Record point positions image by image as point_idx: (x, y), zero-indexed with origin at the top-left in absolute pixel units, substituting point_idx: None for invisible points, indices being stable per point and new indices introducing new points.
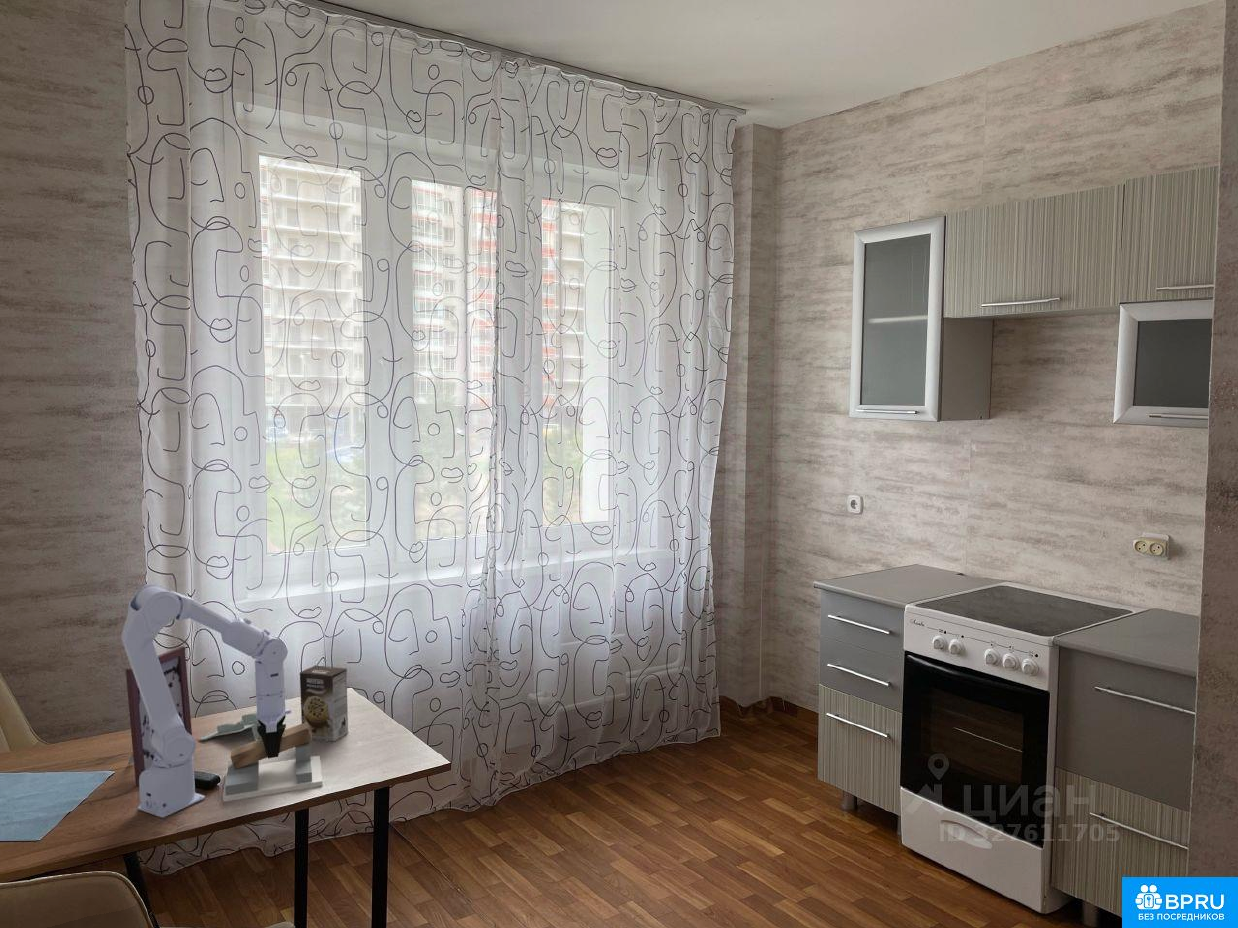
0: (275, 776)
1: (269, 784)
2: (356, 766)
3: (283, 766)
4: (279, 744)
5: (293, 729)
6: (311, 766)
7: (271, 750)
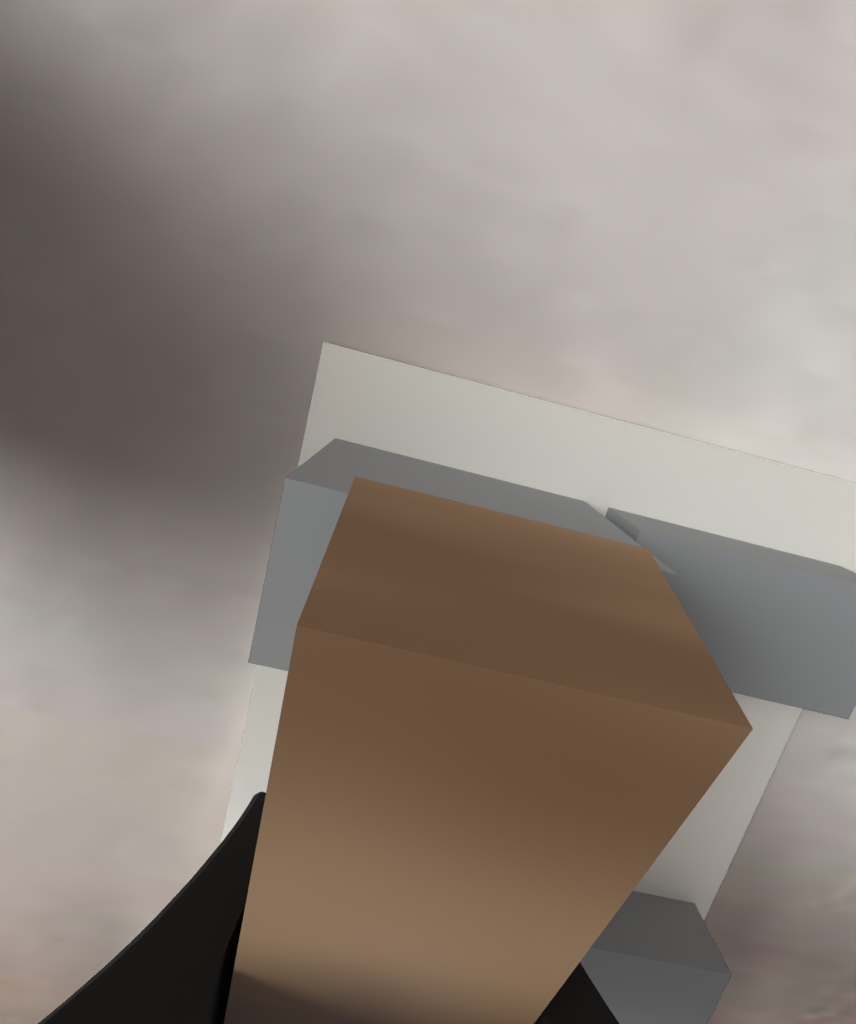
0: None
1: None
2: (709, 80)
3: None
4: (589, 980)
5: (406, 869)
6: (535, 482)
7: None
